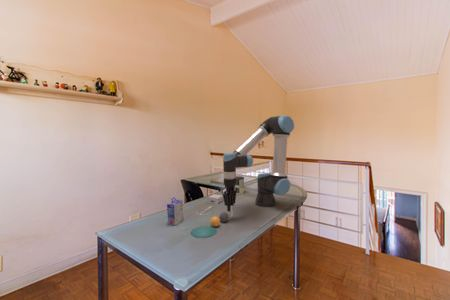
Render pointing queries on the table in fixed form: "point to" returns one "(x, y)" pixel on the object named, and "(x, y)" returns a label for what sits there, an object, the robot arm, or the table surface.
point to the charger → (215, 199)
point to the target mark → (203, 231)
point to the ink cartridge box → (175, 211)
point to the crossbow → (205, 211)
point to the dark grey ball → (224, 217)
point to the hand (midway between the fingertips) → (230, 215)
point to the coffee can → (239, 184)
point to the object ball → (215, 221)
